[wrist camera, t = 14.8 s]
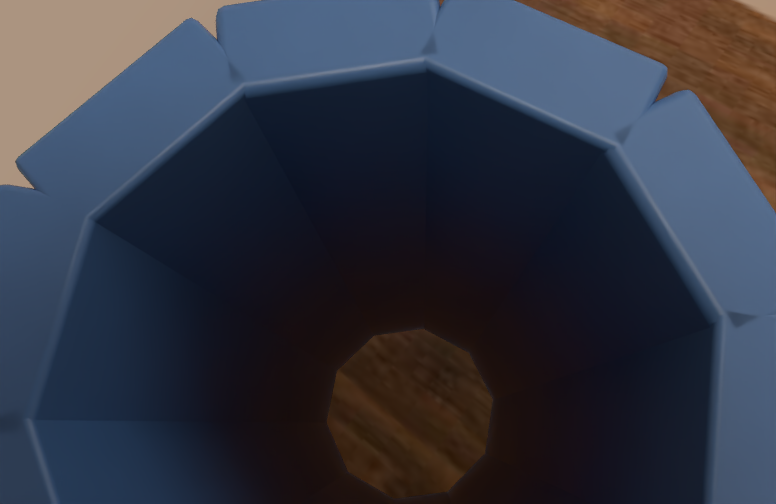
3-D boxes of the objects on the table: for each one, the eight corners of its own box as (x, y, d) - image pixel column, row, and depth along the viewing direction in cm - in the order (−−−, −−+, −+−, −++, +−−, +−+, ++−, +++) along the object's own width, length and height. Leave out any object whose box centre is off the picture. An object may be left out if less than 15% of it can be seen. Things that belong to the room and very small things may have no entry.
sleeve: (569, 412, 15) (1057, 377, 4) (404, 584, 14) (328, 1254, 3) (414, 258, 16) (396, -158, 5) (253, 409, 15) (-251, 370, 4)
